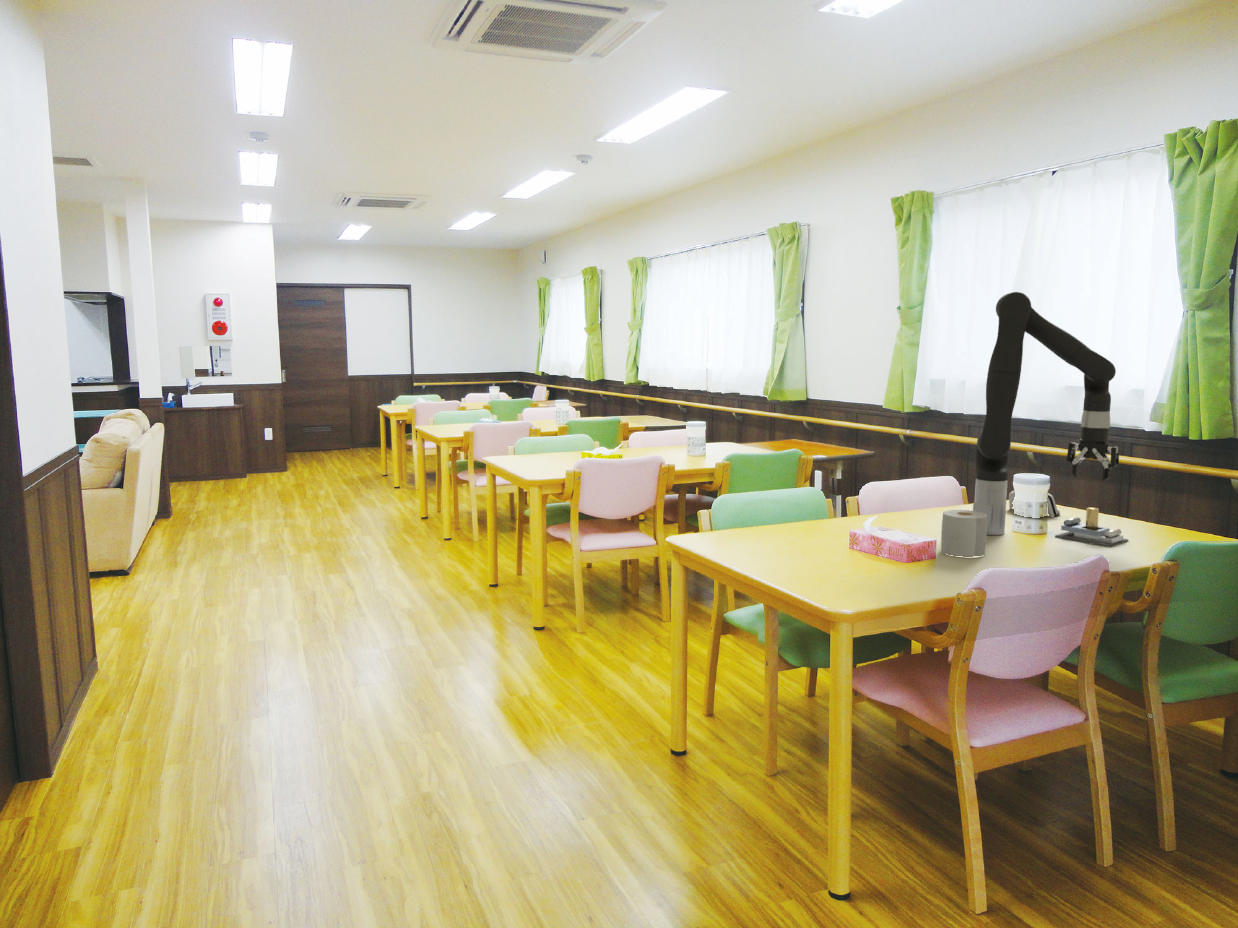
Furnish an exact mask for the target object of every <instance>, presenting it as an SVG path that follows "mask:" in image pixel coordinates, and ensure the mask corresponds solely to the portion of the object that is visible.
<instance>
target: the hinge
mask: <svg viewBox="0 0 1238 928" xmlns="http://www.w3.org/2000/svg"><path fill="white" fill-rule="evenodd" d="M1014 490H1015V489H1013V490H1012V491H1010V492H1009V494H1008V503H1009V506H1008V507H1009V510H1011V509H1012V507H1013V504H1012V502H1013V500H1014V497H1015V491H1014ZM1047 493H1048V514H1049V518H1054V517H1055V516H1059V517H1060V516H1061V512H1060V510H1058V507H1057V503H1056V500H1055V498H1054V496H1053V495H1052V494H1051V493H1049V492H1047Z"/></svg>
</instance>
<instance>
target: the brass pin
mask: <svg viewBox="0 0 1238 928" xmlns="http://www.w3.org/2000/svg"><path fill="white" fill-rule="evenodd" d="M1099 510H1100V509H1099V508H1098V507H1087V508H1086V513H1085V514H1086V515H1085V516H1086V517H1085V524H1086V529H1091V530H1098V527H1099V514H1100V513H1099Z"/></svg>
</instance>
